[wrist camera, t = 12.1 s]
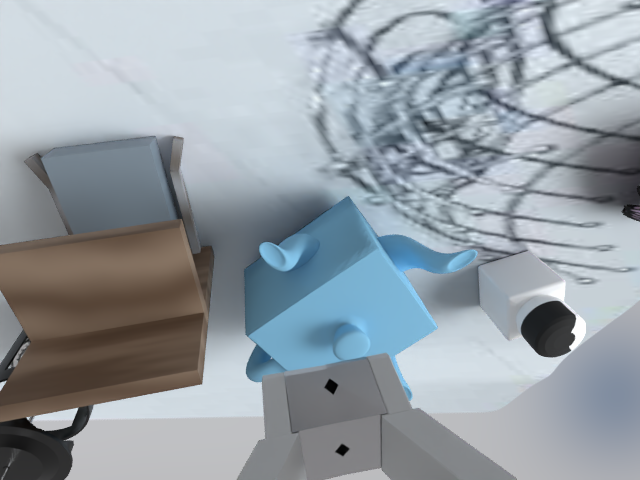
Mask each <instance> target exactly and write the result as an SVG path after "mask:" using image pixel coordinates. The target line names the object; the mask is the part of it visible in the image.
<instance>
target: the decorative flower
mask: <svg viewBox="0 0 640 480" xmlns="http://www.w3.org/2000/svg"><path fill="white" fill-rule="evenodd" d="M637 192H638V194H639V195H640V186H638V188H637ZM624 207H625V208H624V209H623V212H622V213H624V214H623V215H625V216H627V217H629V218H631V219H634V220H636V221H640V206H639V205H632V204H629V205H627V206H624Z"/></svg>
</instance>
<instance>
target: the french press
mask: <svg viewBox="0 0 640 480" xmlns="http://www.w3.org/2000/svg"><path fill="white" fill-rule="evenodd" d="M30 343H31V341H30V339H29V338H28V336H27V334H26V333H25V331H24V329H23V331H22V332H21V334H20V335H19V337H18V338H17V340H16V341H15V343H14V344H13V346H12V347H11V349H10V350H9V352H8V353H7V355H6V356H5V358H4V359H3V361H2V362H1V364H0V382H3V381H6V380H8V378H9V377H10V375H11V374H12V372H13V370H14V369H15V367H16V365H17V364H18V362H19V361H20V359H21V357H22V356H23V354H24V353H25V351H26V349H27V348H28V346H29V344H30ZM10 365H11V368H9V369H8V367H9V366H10ZM92 409H93V405H89V406H84V407H79V408H78V411H77V413H76V416H75V418H74V421H73V423H72V426H70V427H67V428H64V429H59V430H54V431H44V430H42V429H38V428H36V427H35V426H33V424H32V421H33V419H34V417H35V416H31V417H30V418H29V420H28V419H27V418H26V417H25V418H20V419H15V420H10V421H4V422H0V480H64V479H65V478H66V477H67V476H68V474H69V472H70V470H71V467H72V461H73V460H72V455H71V451H72V448H73V446H74V443H73V441H63V440H66V439H69V438H71V437H73V436H75V435H76V434H78V433H79V432H80V431H82V429H83V428H84V427H85V426H86V425H87V422H88V420H89V418H90V415H91V412H92Z"/></svg>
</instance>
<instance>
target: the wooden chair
mask: <svg viewBox="0 0 640 480" xmlns="http://www.w3.org/2000/svg"><path fill="white" fill-rule="evenodd" d="M183 139H184V138H181V137H176V136H175V137H174V139H173V144H172V154H171V163H170V174H171V178H172V181H173V185H174V188H175V192H176V196H177V199H178V203H179V206H180V210H181V214H182V217H183V221H184V224H185V228H186V232H187V235H188V239H189V242H190V246H191V249H190V246H189V242H188V239H187V235H186V232H185V228H184V224H183V221H182V219H177V220H170V221H163V222H157V223H150V224H143V225H136V226H129V227H122V228H115V229H109V230H102V231H95V232H88V233H81V234H73V232H72V230H71V227H70V225H69V223H68V220H67V218H66V216H65V214H64V211H63V209H62V207H61V204H60V202H59V200H58V197H57V195H56V193H55V190H54V188H53V186H52V183H51V181H50V179H49V177H48V174H47V172H46V170H45V167H44V165H43V163H42V160H41V157H40V156H39V155H38V154H35V155H33V156H31V157H29V158H28V159H27V160H25V161H24V162H25V163H26V164H27V166H28V167H29V168H30V169H31V170H32V171H33V172H34V173H35V174H36V175H37V177H38V178H39V179H40V180H41V181H42V182H43V183H44V184H45V185H46V186H47V188H48V189H49V191H50V193H51V195H52V198H53V200H54V202H55V204H56V207H57V209H58V211H59V213H60V216H61V218H62V220H63V222H64V225H65V227H66V229H67V231H68V234H69V235H67V236H61V237H54V238H47V239H40V240H33V241H26V242H19V243H13V244H6V245H0V290H1V292H2V293H3V295H4V297H5V299H6V300H7V302H8V304H9V305H10V307H11V309H12V310H13V312H14V314H15V316H16V317H17V319H18V321H19V322H20V324H21V326H22V328H23V329H24V331H25V333H26V334H27V336H28V338H29V339H30V341H31V343H30V344H29V346H28V348H27V349H26V351H25V353H24V354H23V356H22V357H21V359H20V361H19V362H18V364H17V365H16V367H15V369H14V370H13V372H12V374H11V375H10V377H9V378H8V380H7V382H6V383H5V385H4V387H3V388H2V390H1V391H0V422H4V421H10V420H15V419H20V418H25V417H31V416H36V415H41V414H47V413H52V412H57V411H62V410H68V409H73V408H78V407H84V406H89V405H94V404H100V403H105V402H110V401H115V400H121V399H126V398H131V397H137V396H142V395H147V394H152V393H158V392H163V391H168V390H174V389H179V388H184V387H190V386H195V385H200V384H202V380H203V370H204V360H205V349H206V339H207V328H208V318H209V307H210V297H211V287H212V276H213V266H214V254H213V250H212V246H206V247H201V244H200V241H199V237H198V233H197V229H196V225H195V222H194V218H193V214H192V210H191V206H190V203H189V199H188V195H187V191H186V187H185V184H184V180H183V176H182V172H181V169H180V163H181V155H182V147H183Z"/></svg>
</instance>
